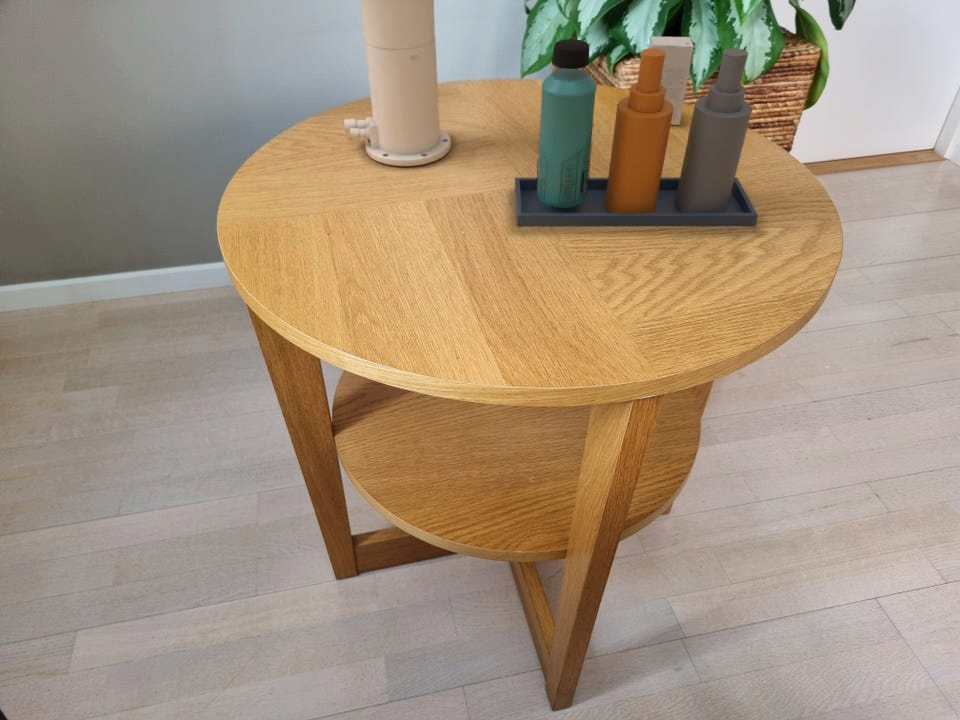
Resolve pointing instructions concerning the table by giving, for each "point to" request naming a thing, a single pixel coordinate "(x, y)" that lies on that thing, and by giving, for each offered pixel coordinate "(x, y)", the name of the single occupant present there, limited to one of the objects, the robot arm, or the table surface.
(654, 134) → the amber bottle
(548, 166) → the beverage bottle
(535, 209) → the tray
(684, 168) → the grey bottle
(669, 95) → the cosmetic box
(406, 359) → the table surface
